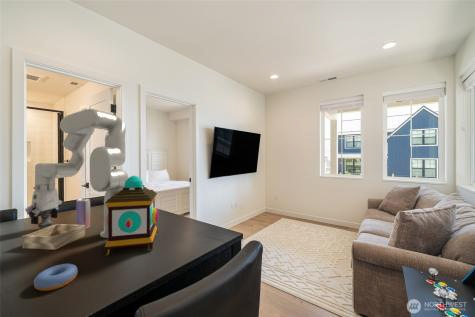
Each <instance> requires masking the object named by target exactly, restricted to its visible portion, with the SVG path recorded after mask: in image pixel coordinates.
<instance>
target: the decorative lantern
mask: <svg viewBox="0 0 475 317" xmlns="http://www.w3.org/2000/svg"><path fill="white" fill-rule="evenodd" d="M128 177H129V178H128V179H127V180H126V181H125V187H124V188H123V190H121V191H120V192H118V193H116V194H115V195H113V196H111V198H109V199H108V200H107V201H106V202H105V204H106V206H107V207H108V216H107V223H108V238H107V240H106V242H105V245H104V246H103V254H104V255H105V256H108V255H109V254H110V250H111V249H117V248H126V247H137V246H148V251H152V250H154V241H155V239H156V236H157V235H158V227H157V225H156V223H157V222H158V220H159V210H158V208H157V207H156V206H155V205H156V204H155V203H156V202H155V201H156V198H157V195H158V193H157V192H156V191H155V190H153V189H149V188H147V187H146V186H145V185H144V183H143V180H142V179H141V178H140V177H139V176H138V175H131V176H128Z"/></svg>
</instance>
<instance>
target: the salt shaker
mask: <svg viewBox="0 0 475 317" xmlns="http://www.w3.org/2000/svg"><path fill="white" fill-rule="evenodd" d="M40 217H41V220H40V222H39V223H38V224H37V226H38V228H39V230H41V229H44V228H47V227H50V226H52V225H54V224H53V223H54V221H53V220H50V218H51V214H50V210H46V211H41V216H40Z"/></svg>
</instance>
